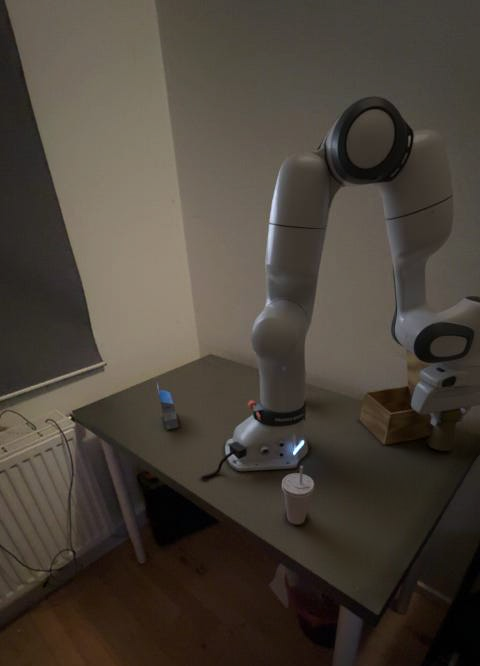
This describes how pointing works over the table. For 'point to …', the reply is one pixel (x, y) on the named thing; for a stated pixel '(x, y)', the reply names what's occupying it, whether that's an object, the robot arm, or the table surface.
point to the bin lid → (414, 369)
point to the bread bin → (394, 415)
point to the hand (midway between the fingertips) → (445, 422)
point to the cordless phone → (168, 409)
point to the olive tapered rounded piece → (444, 430)
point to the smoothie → (297, 495)
